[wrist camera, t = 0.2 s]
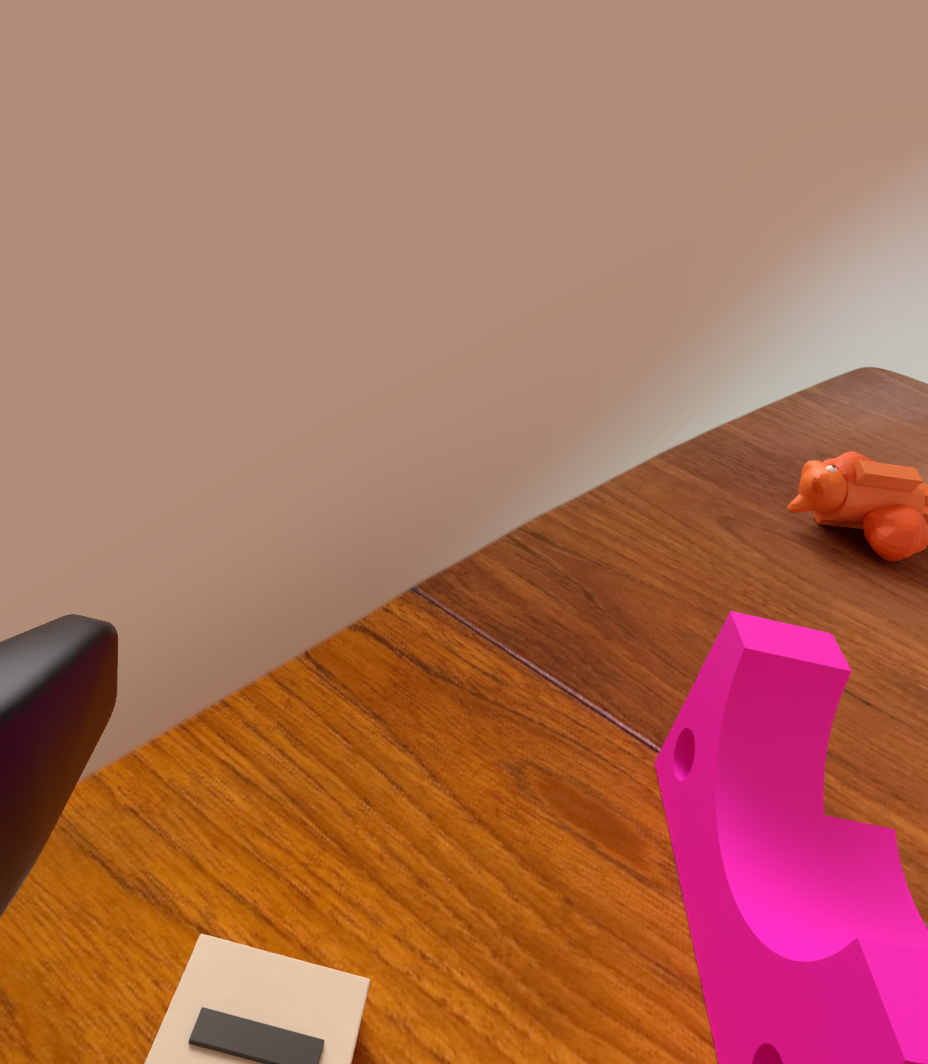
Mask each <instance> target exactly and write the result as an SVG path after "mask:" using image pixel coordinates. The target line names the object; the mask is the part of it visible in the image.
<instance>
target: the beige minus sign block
mask: <svg viewBox="0 0 928 1064" xmlns="http://www.w3.org/2000/svg"><path fill="white" fill-rule="evenodd" d="M369 985H370V979H367V978H364V977H360V976H356V975H353V974H349V973H345V972H342V971H338V970H334V969H330V968H327V967H323V966H319V965H316V964H312V963H308V962H305V961H301V960H297V959H293V958H290V957H286V956H282V955H279V954H275V953H271V952H268V951H264V950H260V949H256V948H253V947H249V946H245V945H242V944H238V943H234V942H231V941H227V940H223V939H219V938H216V937H212V936H208V935H205V934H201V935H200V936H199V938H198V941H197V943H196V945H195V948H194V950H193V952H192V955H191V957H190V959H189V961H188V964H187V966H186V968H185V971H184V973H183V975H182V978H181V980H180V982H179V985H178V987H177V989H176V992H175V994H174V996H173V999H172V1001H171V1003H170V1006H169V1008H168V1010H167V1012H166V1015H165V1017H164V1019H163V1022H162V1024H161V1026H160V1029H159V1031H158V1033H157V1036H156V1038H155V1040H154V1043H153V1045H152V1047H151V1050H150V1052H149V1054H148V1056H147V1059H146V1061H145V1063H144V1064H351V1063H352V1059H353V1054H354V1050H355V1046H356V1041H357V1037H358V1033H359V1028H360V1024H361V1020H362V1015H363V1011H364V1007H365V1002H366V998H367V994H368V989H369Z"/></svg>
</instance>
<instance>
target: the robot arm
mask: <svg viewBox="0 0 928 1064" xmlns="http://www.w3.org/2000/svg"><path fill="white" fill-rule="evenodd" d="M117 666H118V635H117V631H116V628H115V627H114V626H113V625H112V624H111V623H109V622H106V621H101V620H98V619H93V618H89V617H85V616H81V615H74V614H71V615H66V616H63V617H60V618H58V619H55V620H53V621H50V622H48V623H46V624H43V625H41V626H38V627H36V628H33V629H31V630H29V631H26V632H24V633H21V634H19V635H16V636H14V637H12V638H9V639H6V640H4V641H2V642H0V917H1V916H2V914H3V913H4V911H5V910H6V908H7V907H8V905H9V904H10V902H11V901H12V899H13V898H14V896H15V895H16V893H17V892H18V890H19V889H20V887H21V885H22V884H23V882H24V880H25V879H26V877H27V876H28V874H29V872H30V871H31V869H32V868H33V866H34V864H35V863H36V861H37V859H38V857H39V855H40V853H41V852H42V850H43V848H44V846H45V844H46V842H47V840H48V839H49V837H50V835H51V833H52V831H53V829H54V827H55V825H56V823H57V821H58V819H59V817H60V815H61V813H62V811H63V809H64V807H65V805H66V803H67V801H68V800H69V798H70V796H71V794H72V792H73V790H74V788H75V786H76V784H77V782H78V780H79V778H80V776H81V774H82V772H83V770H84V768H85V766H86V764H87V762H88V760H89V758H90V756H91V755H92V753H93V751H94V749H95V747H96V745H97V743H98V741H99V739H100V737H101V735H102V733H103V731H104V729H105V727H106V725H107V723H108V721H109V719H110V717H111V714H112V712H113V709H114V706H115V702H116V696H117Z"/></svg>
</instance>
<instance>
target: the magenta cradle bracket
mask: <svg viewBox="0 0 928 1064" xmlns="http://www.w3.org/2000/svg"><path fill="white" fill-rule="evenodd" d="M851 672H852V671H851V669H850V667H849V665H848V663H847V661H846V659H845V658H844V656H843V654H842V652H841V650H840V648H839V646H838V645H837V643H836V641H835V639H834V637H833V635H832V633H827V632H823V631H818V630H814V629H809V628H805V627H800V626H796V625H791V624H787V623H782V622H778V621H773V620H769V619H764V618H760V617H755V616H751V615H746V614H742V613H737V612H733V611H730V613H729V615H728V617H727V619H726V621H725V623H724V625H723V627H722V629H721V631H720V633H719V635H718V637H717V639H716V641H715V643H714V645H713V647H712V649H711V651H710V653H709V655H708V657H707V659H706V661H705V663H704V665H703V667H702V669H701V671H700V673H699V675H698V677H697V679H696V681H695V683H694V685H693V687H692V689H691V691H690V693H689V695H688V697H687V699H686V701H685V703H684V705H683V707H682V709H681V711H680V713H679V715H678V717H677V719H676V721H675V723H674V725H673V727H672V729H671V731H670V733H669V735H668V737H667V739H666V741H665V743H664V745H663V747H662V749H661V751H660V753H659V755H658V757H657V759H656V761H655V767H656V772H657V776H658V781H659V786H660V790H661V795H662V800H663V805H664V809H665V814H666V819H667V824H668V828H669V833H670V838H671V842H672V847H673V852H674V857H675V861H676V866H677V871H678V876H679V880H680V885H681V890H682V894H683V899H684V904H685V909H686V913H687V918H688V923H689V928H690V932H691V937H692V942H693V946H694V951H695V956H696V961H697V965H698V970H699V975H700V979H701V984H702V989H703V994H704V998H705V1003H706V1008H707V1013H708V1017H709V1022H710V1027H711V1031H712V1036H713V1041H714V1046H715V1050H716V1055H717V1060H718V1064H928V929H927V928H926V926H925V924H924V922H923V921H922V919H921V917H920V915H919V913H918V911H917V908H916V906H915V904H914V902H913V900H912V897H911V894H910V892H909V889H908V886H907V884H906V880H905V877H904V874H903V870H902V867H901V862H900V858H899V853H898V848H897V841H896V835H895V829H890V828H885V827H880V826H875V825H870V824H865V823H860V822H855V821H850V820H845V819H840V818H835V817H830V816H825V815H824V803H823V794H824V771H825V761H826V753H827V747H828V741H829V736H830V731H831V727H832V723H833V719H834V716H835V712H836V709H837V706H838V703H839V700H840V697H841V695H842V692H843V690H844V687H845V685H846V683H847V681H848V678H849V676H850V674H851Z"/></svg>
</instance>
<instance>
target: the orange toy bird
mask: <svg viewBox="0 0 928 1064" xmlns="http://www.w3.org/2000/svg"><path fill="white" fill-rule="evenodd" d="M922 482H923V480H922V478H921V476H920V475H919V473H918V471H917V469H916V468H912V467H905V466H898V465H891V464H885V463H878V462H873V461H872V460H870V459H868V458H866V457H864V456H862V455H860V454H858V453H856V452H854V451H852V452H847V453H844V454H842V455H841V456H839V457H837V458H833V459H827V460H825V461H823V462H820V461H809V462H807V463H805V464H804V467H803V469H802V471H801V481H800V484H799V494H798V496H797V497H796V498H795V499H794V500H793V501H792V502H791V503H790V504H789V505H788V510H789V511H790V512H791V513H795V512H803V511H812V513H813V515H814V517H815V520H816V522H817V524H823V525H831V526H840V527H848V528H857V529H864V535H865V538H866V540H867V541H868V543H869V544H870V546H871V547H872V548H873V549H874V551H875V552H876V553H877V554H878V555H879V556H880V557H882V558H883V559H884V560H887V561H898V560H902V559H904V558H907V557H909V556H911V555H913V554H914V553H918V552H920V551H922V550H924V549H925V547H926V546H927V543H928V527H927V525H928V484H924V483H922Z"/></svg>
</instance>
